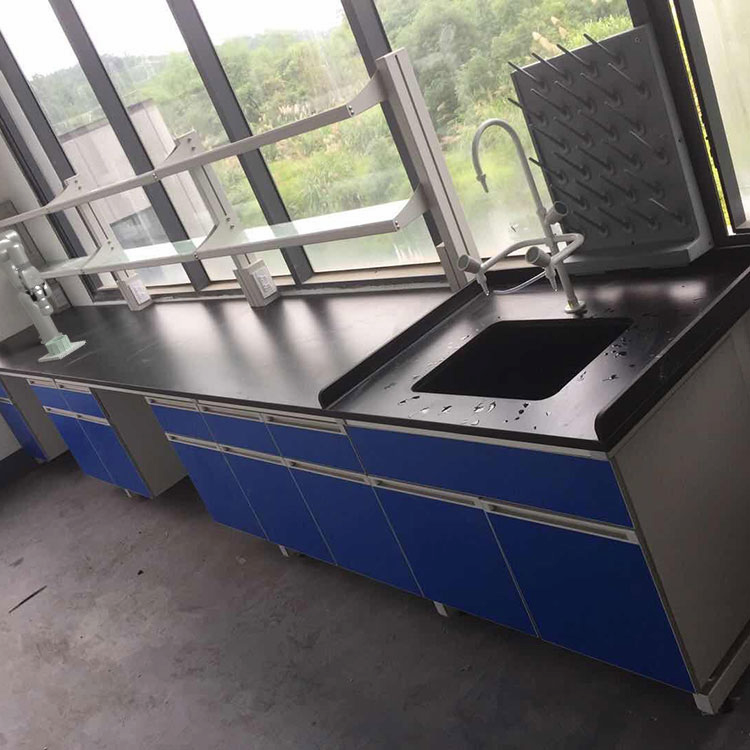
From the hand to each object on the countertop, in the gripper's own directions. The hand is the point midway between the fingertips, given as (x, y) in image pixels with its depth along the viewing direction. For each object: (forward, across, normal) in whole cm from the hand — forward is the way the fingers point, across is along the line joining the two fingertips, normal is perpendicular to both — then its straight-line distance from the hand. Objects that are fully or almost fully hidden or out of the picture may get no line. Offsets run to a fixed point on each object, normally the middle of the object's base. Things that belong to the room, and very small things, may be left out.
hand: (40, 298), depth 421 cm
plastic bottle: (+10, 0, 0) cm, 10 cm away
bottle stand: (+28, -12, -12) cm, 33 cm away
